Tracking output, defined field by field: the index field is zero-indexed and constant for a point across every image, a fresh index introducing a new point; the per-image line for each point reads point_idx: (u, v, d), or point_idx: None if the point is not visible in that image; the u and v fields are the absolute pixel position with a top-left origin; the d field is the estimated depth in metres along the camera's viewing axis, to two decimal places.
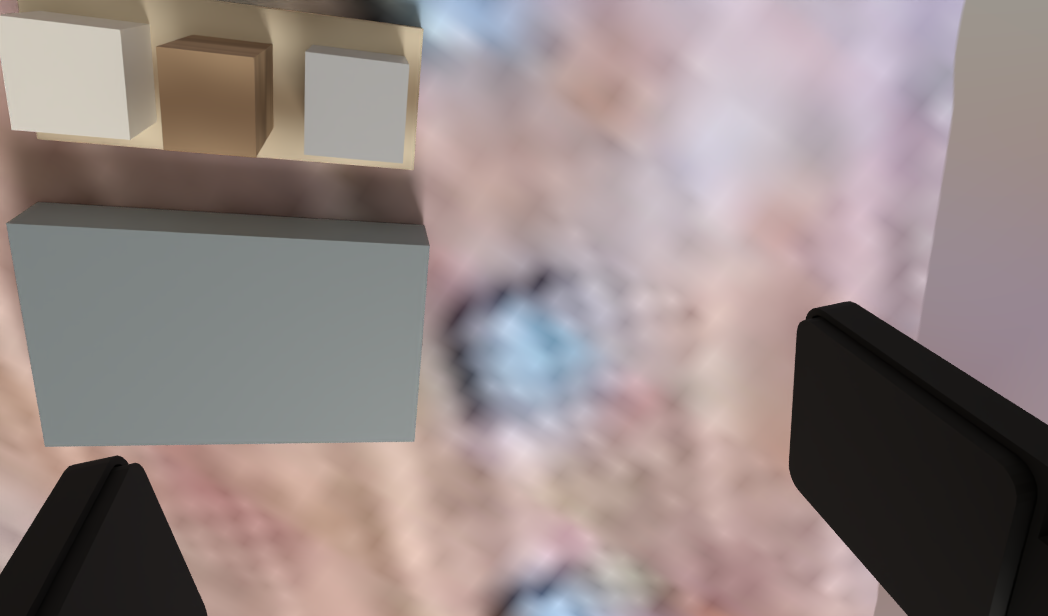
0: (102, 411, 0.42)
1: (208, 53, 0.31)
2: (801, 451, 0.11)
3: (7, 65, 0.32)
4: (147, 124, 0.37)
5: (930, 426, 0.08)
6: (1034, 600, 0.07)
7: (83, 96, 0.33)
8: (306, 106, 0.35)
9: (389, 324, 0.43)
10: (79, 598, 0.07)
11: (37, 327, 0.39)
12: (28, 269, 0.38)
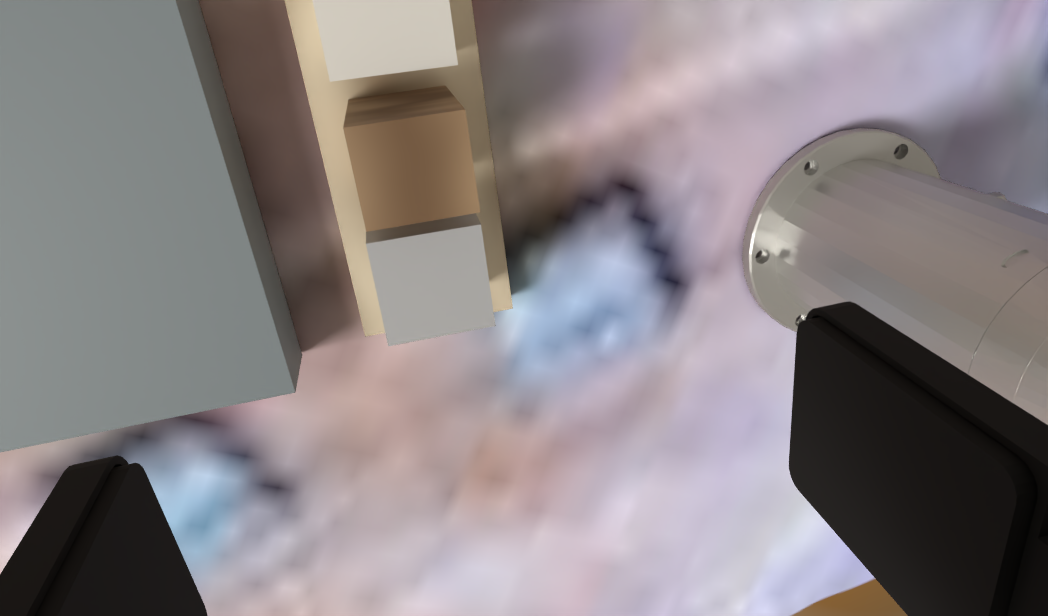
0: None
1: (472, 165, 0.27)
2: (801, 451, 0.11)
3: None
4: None
5: (930, 425, 0.08)
6: (1034, 600, 0.07)
7: (369, 25, 0.26)
8: (422, 236, 0.30)
9: (170, 378, 0.33)
10: (79, 598, 0.07)
11: None
12: None
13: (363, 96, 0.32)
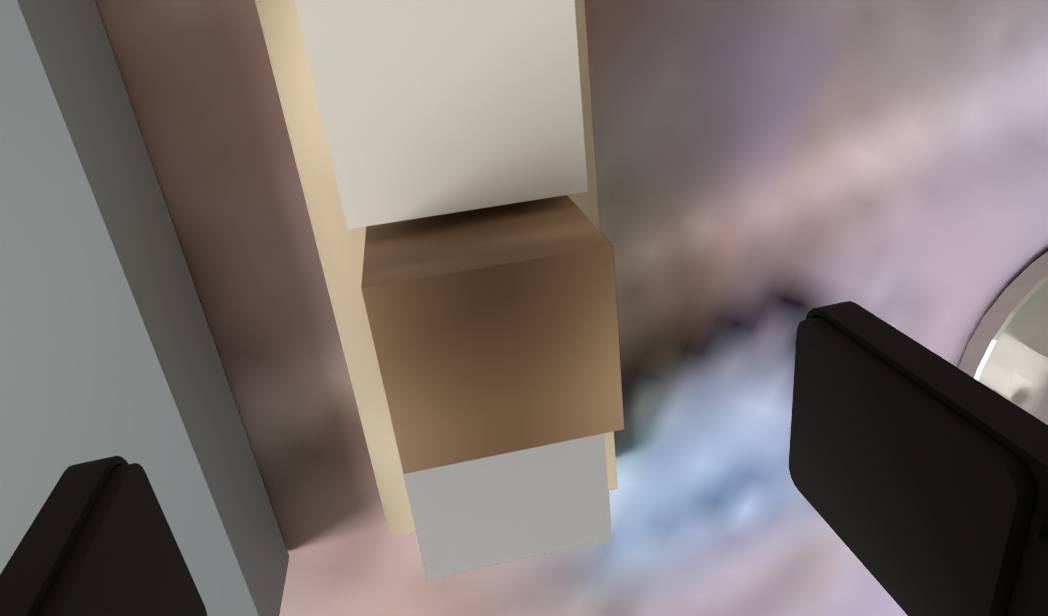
0: None
1: (616, 347, 0.13)
2: (801, 451, 0.11)
3: None
4: None
5: (930, 426, 0.08)
6: (1034, 600, 0.07)
7: (424, 125, 0.13)
8: None
9: None
10: (79, 598, 0.07)
11: None
12: None
13: None
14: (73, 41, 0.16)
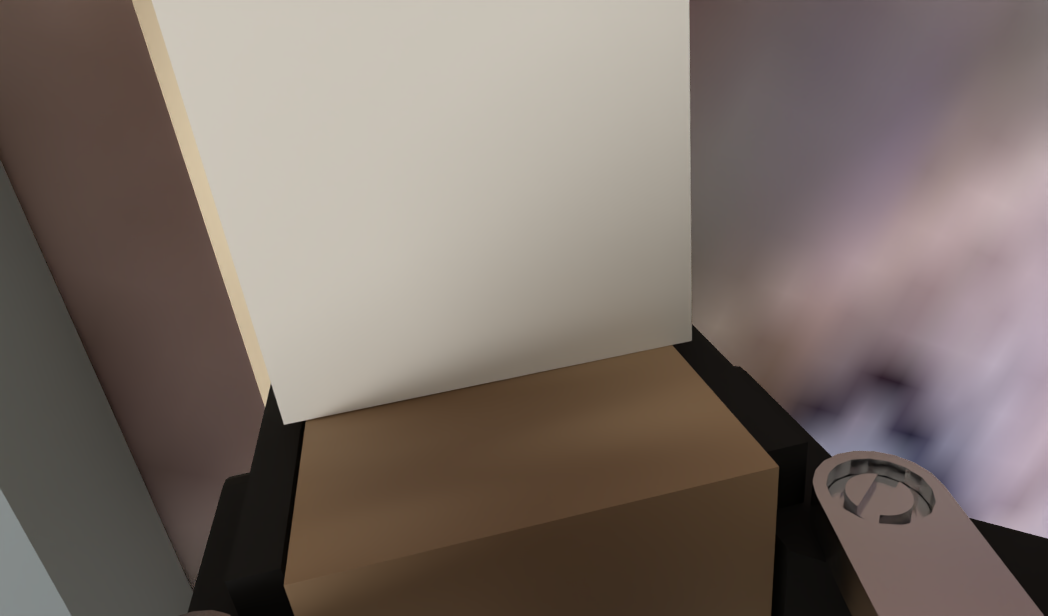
0: None
1: None
2: None
3: None
4: None
5: None
6: None
7: (419, 250, 0.08)
8: None
9: None
10: None
11: None
12: None
13: None
14: None
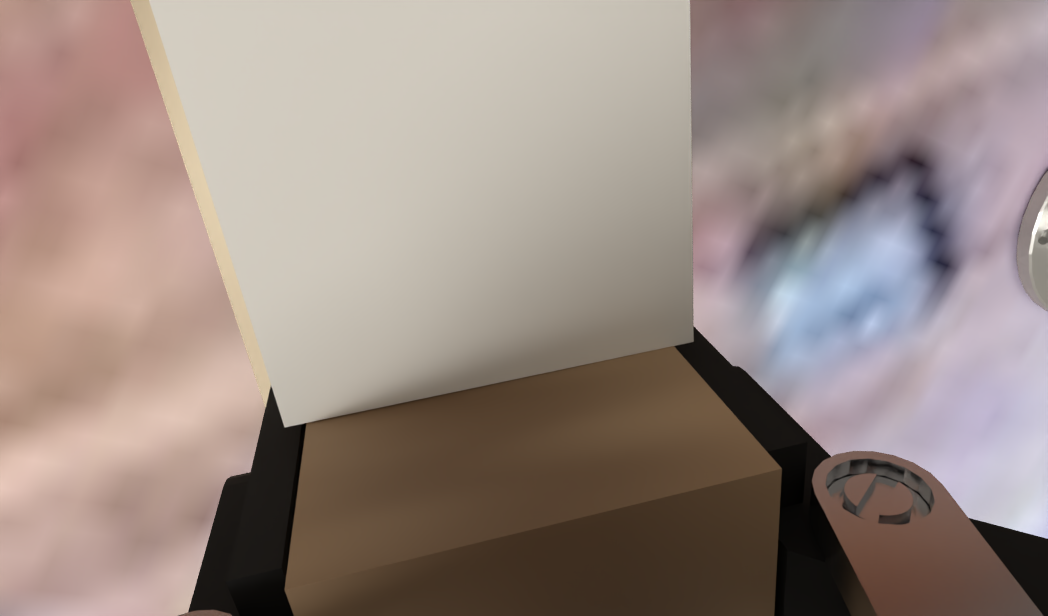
0: None
1: None
2: None
3: None
4: None
5: None
6: None
7: (418, 251, 0.07)
8: None
9: None
10: None
11: None
12: None
13: None
14: None
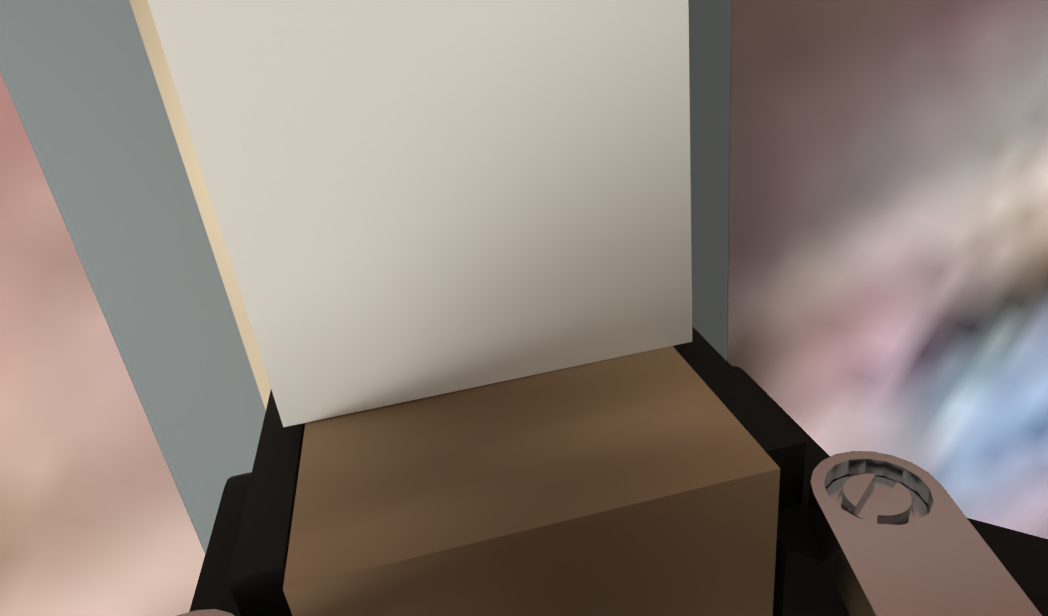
0: None
1: None
2: None
3: None
4: None
5: None
6: None
7: (417, 251, 0.07)
8: None
9: None
10: None
11: None
12: None
13: None
14: None
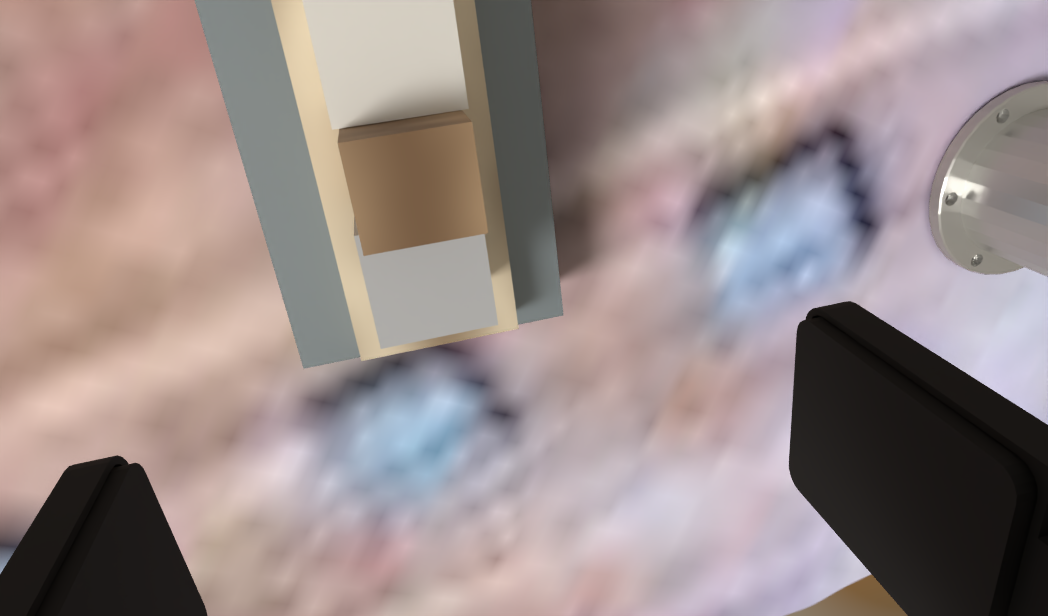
0: None
1: (479, 182, 0.24)
2: (801, 451, 0.11)
3: None
4: None
5: (930, 426, 0.08)
6: (1034, 600, 0.07)
7: (374, 69, 0.25)
8: None
9: None
10: (79, 598, 0.07)
11: None
12: None
13: None
14: None
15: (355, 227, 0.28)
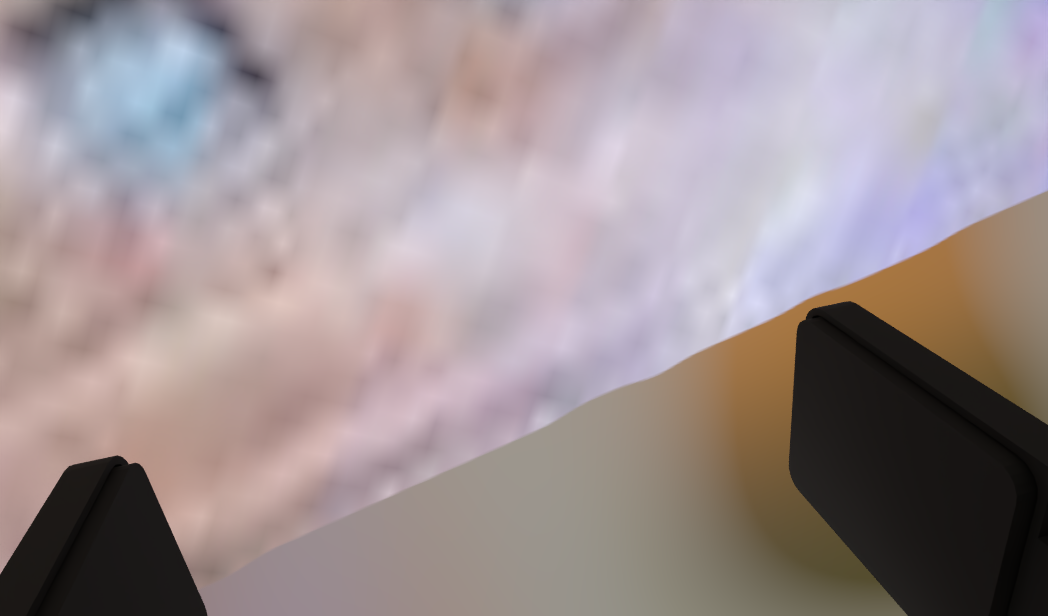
0: None
1: None
2: (801, 451, 0.11)
3: None
4: None
5: (929, 425, 0.08)
6: (1034, 600, 0.07)
7: None
8: None
9: None
10: (79, 598, 0.07)
11: None
12: None
13: None
14: None
15: None
